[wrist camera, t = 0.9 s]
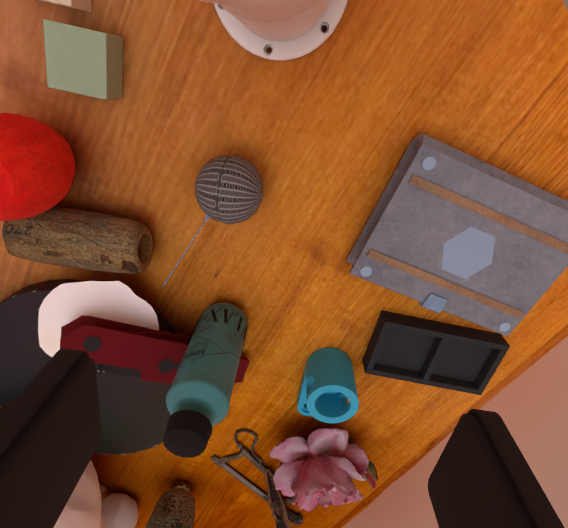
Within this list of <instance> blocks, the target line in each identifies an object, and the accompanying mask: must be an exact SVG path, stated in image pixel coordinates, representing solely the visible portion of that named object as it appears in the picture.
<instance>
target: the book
mask: <svg viewBox="0 0 568 528" xmlns="http://www.w3.org/2000/svg"><path fill="white" fill-rule="evenodd" d="M346 260H347V262H349V263H352V264H353V266H352V268H351V270H350V274H352V275H355V276H357V277H360V278H362V279H365V280H367V281H370V282H372V283H375V284H377V285H380V286H382V287H385V288H387V289H390V290H392V291H395V292H397V293H400V294H402V295H405V296H407V297H410V298H412V299H415V300H417V301H419V303H420V305H421V306H422V307H424V308H427V309H429V310H432V311H434V312H437V313H440V312H441V311H442V310H443V311H445V312H448V313H450V314H453V315H455V316H458V317H460V318H463V319H465V320H468V321H470V322H473V323H475V324H478V325H480V326H483V327H485V328H488V329H490V330H493V331H495V332H498V333H500V334H503V335H505V336H508V335H509V334H510V333H511V332H512V331H513V329H514V328H515V327H516V326H517V325H518V324H519V322H520V321H521V320H522V319H523V318H524V317H525V315H526V314H527V313H528V312H529V311H530V309H531V308H532V307H533V306H534V305H535V304H536V302H537V301H538V300H539V299H540V298H541V297H542V295H543V294H544V293H545V292H546V291H547V290H548V288H549V287H550V286H551V285H552V284H553V282H554V281H555V280H556V279H557V278H558V277H559V275H560V274H561V273H562V272H563V271H564V270H565V268H566V267H567V266H568V201H567V200H565V199H563V198H560V197H558V196H556V195H554V194H552V193H550V192H548V191H545V190H543V189H541V188H539V187H537V186H535V185H533V184H530V183H528V182H526V181H524V180H522V179H520V178H518V177H515V176H513V175H511V174H509V173H507V172H505V171H503V170H500V169H498V168H496V167H494V166H492V165H490V164H488V163H485V162H483V161H481V160H479V159H477V158H475V157H473V156H470V155H468V154H466V153H464V152H462V151H460V150H458V149H455V148H453V147H451V146H449V145H447V144H445V143H443V142H440V141H438V140H436V139H434V138H432V137H430V136H428V135H425V134H423V133H419V134H418V135H417V136H415V137H414V138H413V139H412V140H411V142H410V144H409V146H408V148H407V149H406V151H405V153H404V155H403V157H402V158H401V160H400V162H399V164H398V166H397V168H396V169H395V171H394V173H393V175H392V177H391V179H390V180H389V182H388V184H387V186H386V188H385V190H384V191H383V193H382V195H381V197H380V199H379V200H378V202H377V204H376V206H375V208H374V210H373V211H372V213H371V215H370V217H369V219H368V221H367V222H366V224H365V226H364V228H363V230H362V232H361V233H360V235H359V237H358V239H357V241H356V243H355V244H354V246H353V248H352V250H351V252H350V253H349V255H348V257H347V259H346Z"/></svg>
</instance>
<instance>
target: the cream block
mask: <svg viewBox="0 0 568 528" xmlns="http://www.w3.org/2000/svg"><path fill="white" fill-rule="evenodd" d="M38 1H42V2H46V3H51V4H55V5H59V6H64V7H68V8H72V9H77V10H81V11H85V12H90V13H92V0H38Z"/></svg>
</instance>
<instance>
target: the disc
mask: <svg viewBox="0 0 568 528" xmlns="http://www.w3.org/2000/svg"><path fill="white" fill-rule="evenodd" d="M74 282H84V281H76V280H53V281H45V282H41V283H37V284H33V285H29V286H27V287H25V288H23V289H21V290H20V291H18V292H16V293H14V294H12V295H11V296H10V297H8V298H7V299H6V300H4V301H3V302H2V303H0V406H1V407H2V406H3V405H4V404H5V403H6V402H8V401H10V400H12V399H16V398H17V397H18V396H19V395H20V394H21V392H22V391H23V390H24V389H25V388H26V387H27V386H28V384H29V383H30V382H31V381H32V380H33V379H34V378H35V376H36V375H37V374H38V373H39V372H40V371H41V370H42V368H43V367H44V366H45V365H46V364H47V363H48V362H49V360H50V359H51V358H52V357H51V356H49V355H48V354H46V353H45V352H44V350H43V349H42V348H41V347H40V345H39V335H38V317H39V308H40V306H41V304H42V302H43V300H44V298H45V297H46V296H47V295H48V294H49V293H50V292H51V291H52V290H53V289H55V288H56V287H58V286H59V285H61V284H65V283H74ZM155 313H156V312H155ZM156 315H157V319H158V324H159V330H161V331H165V332H170V333H175V331H174V330H173V329H172V327H171V326H170V325H169V324H168V323H167V322H166V321H165V320H163V319H162V318H161V317H160V316H159V315H158V314H157V313H156ZM175 334H176V333H175ZM96 377H97V388H98V398H99V409H100V420H101V438H100V442H99V445H98V447H97V449H96V451H95V452H94V453H98V454H128V453H134V452H140V451H143V450H146V449H149V448H152V447H155V446H157V445H158V444H160V443H162V442H163V436H164V433H165V430H166V424H167V421H168V419H169V417H170V416H171V414H170V412H169V411H168V409H167V406H166V396H167V393H168V391H169V389H170V388H171V386H172V384H167V383H158V382H149V381H142V378H137V377H136V376H135V374H133V375H132V376H125V375H119V374H114V373H109V372H102V373H99V372H96Z"/></svg>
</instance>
